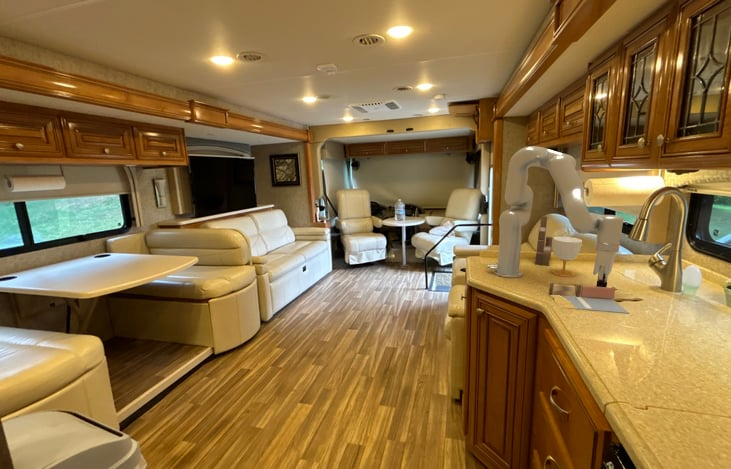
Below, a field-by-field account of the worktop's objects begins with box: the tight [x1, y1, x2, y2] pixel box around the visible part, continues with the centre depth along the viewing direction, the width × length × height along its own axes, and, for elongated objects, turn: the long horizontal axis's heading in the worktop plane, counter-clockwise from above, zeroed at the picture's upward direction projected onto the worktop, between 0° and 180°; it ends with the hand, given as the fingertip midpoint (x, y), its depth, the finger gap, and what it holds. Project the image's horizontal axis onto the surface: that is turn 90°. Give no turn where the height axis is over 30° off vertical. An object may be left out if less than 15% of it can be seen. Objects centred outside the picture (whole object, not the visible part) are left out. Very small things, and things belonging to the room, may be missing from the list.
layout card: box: [562, 294, 630, 314], centre depth 125 cm, size 22×14×1 cm, turn 76°
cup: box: [552, 236, 583, 278], centre depth 157 cm, size 12×12×17 cm
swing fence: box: [580, 285, 616, 300], centre depth 128 cm, size 11×1×4 cm, turn 76°
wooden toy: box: [534, 215, 554, 267], centre depth 176 cm, size 16×7×25 cm, turn 149°
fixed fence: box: [548, 282, 582, 297], centre depth 131 cm, size 11×1×5 cm, turn 76°
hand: (600, 290), depth 133 cm, fingers closed
